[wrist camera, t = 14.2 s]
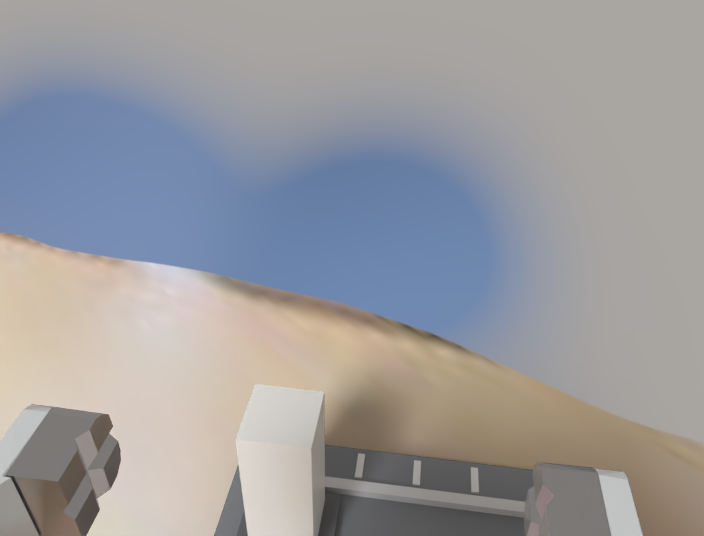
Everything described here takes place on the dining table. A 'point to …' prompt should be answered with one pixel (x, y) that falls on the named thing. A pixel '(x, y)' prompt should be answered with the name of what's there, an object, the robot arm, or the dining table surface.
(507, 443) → the dining table surface
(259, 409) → the fader knob
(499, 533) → the console
